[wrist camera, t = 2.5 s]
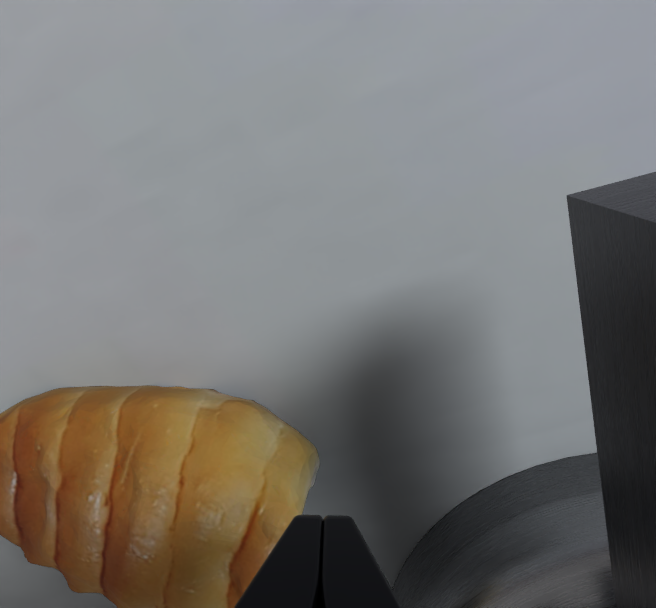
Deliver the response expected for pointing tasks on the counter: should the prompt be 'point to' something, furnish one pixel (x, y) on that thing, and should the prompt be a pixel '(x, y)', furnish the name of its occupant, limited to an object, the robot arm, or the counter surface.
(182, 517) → the pastry
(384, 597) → the robot arm
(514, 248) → the counter surface
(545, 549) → the pot
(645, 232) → the lid
